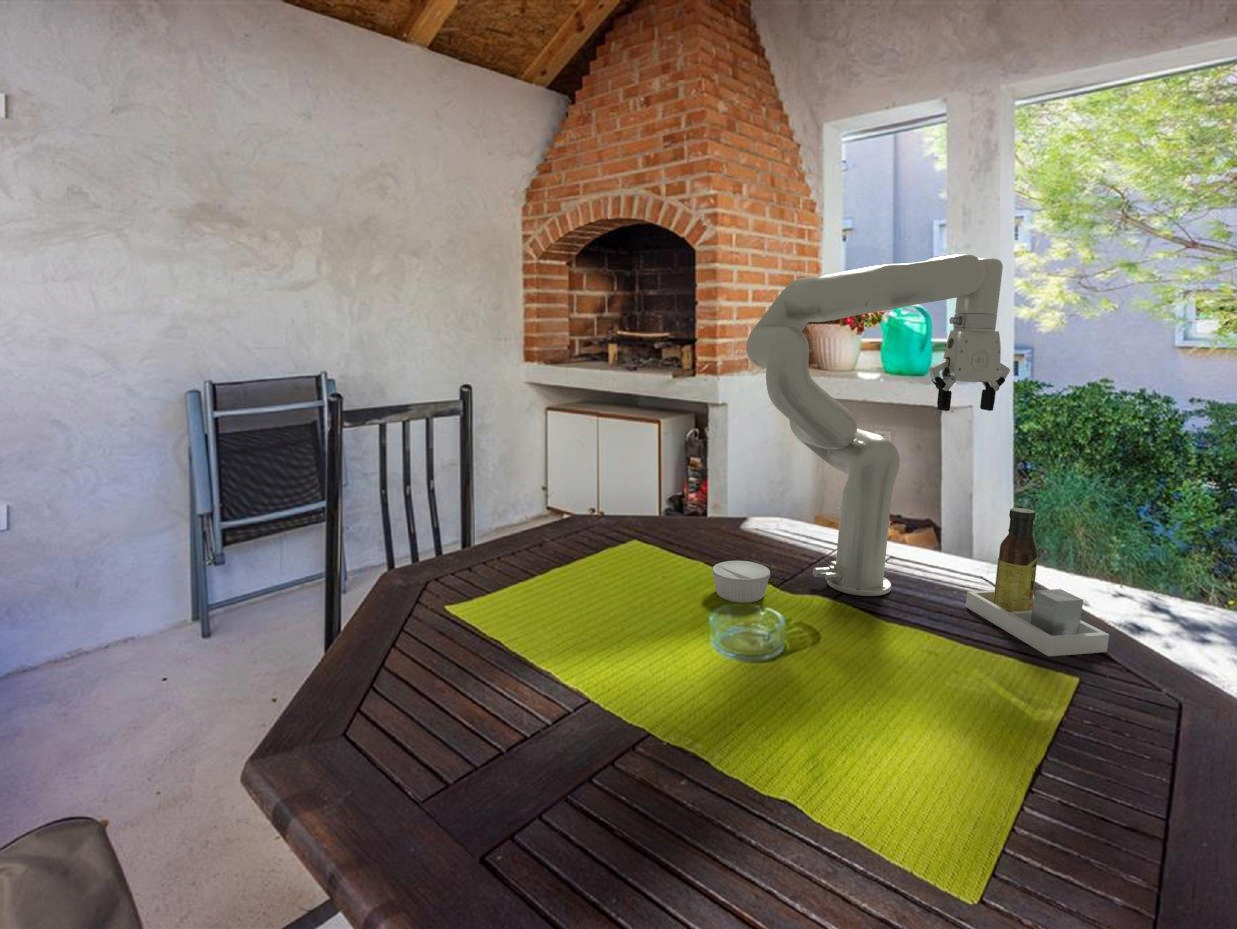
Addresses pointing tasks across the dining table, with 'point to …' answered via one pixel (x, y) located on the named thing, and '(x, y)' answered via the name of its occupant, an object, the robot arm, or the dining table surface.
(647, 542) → the dining table surface
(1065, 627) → the grey metal block
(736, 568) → the ramekin
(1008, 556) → the sauce bottle
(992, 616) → the divided bay tray
